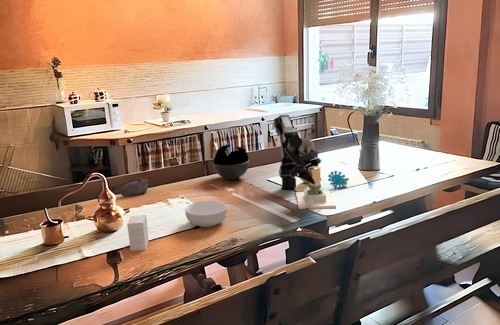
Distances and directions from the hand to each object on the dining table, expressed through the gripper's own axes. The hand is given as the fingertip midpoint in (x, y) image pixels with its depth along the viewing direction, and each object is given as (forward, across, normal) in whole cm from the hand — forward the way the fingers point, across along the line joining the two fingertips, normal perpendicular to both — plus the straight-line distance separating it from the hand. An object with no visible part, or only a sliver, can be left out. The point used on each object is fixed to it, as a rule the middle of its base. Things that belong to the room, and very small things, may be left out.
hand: (317, 182), depth 194 cm
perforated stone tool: (-51, -40, +64) cm, 91 cm away
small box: (-14, -76, +27) cm, 82 cm away
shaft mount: (+5, 0, +7) cm, 9 cm away
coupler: (+4, 0, +6) cm, 7 cm away
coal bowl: (-34, +7, +48) cm, 59 cm away
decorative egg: (-24, +59, +37) cm, 73 cm away
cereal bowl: (-10, -47, +23) cm, 53 cm away
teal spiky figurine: (+5, +24, +8) cm, 26 cm away
